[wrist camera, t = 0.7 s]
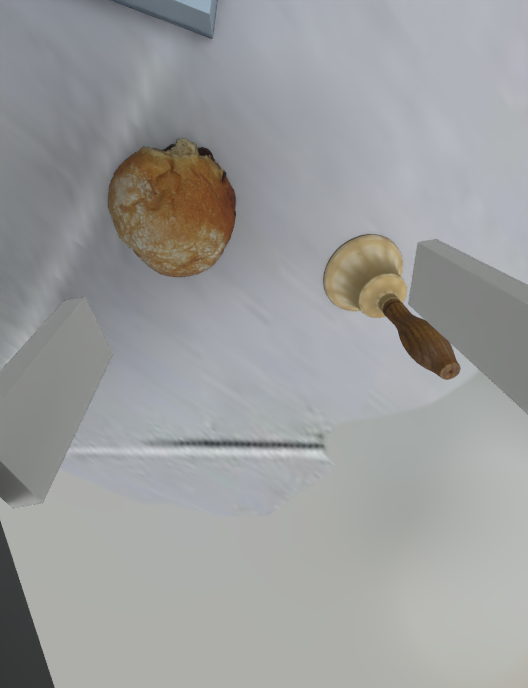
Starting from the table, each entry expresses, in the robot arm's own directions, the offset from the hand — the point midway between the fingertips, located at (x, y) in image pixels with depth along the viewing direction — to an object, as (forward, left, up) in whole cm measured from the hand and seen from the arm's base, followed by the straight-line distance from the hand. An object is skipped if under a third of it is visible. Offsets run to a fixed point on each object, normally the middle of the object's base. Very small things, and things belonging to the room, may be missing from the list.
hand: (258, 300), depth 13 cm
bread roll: (-5, -1, -19) cm, 19 cm away
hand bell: (+14, -3, -19) cm, 23 cm away
